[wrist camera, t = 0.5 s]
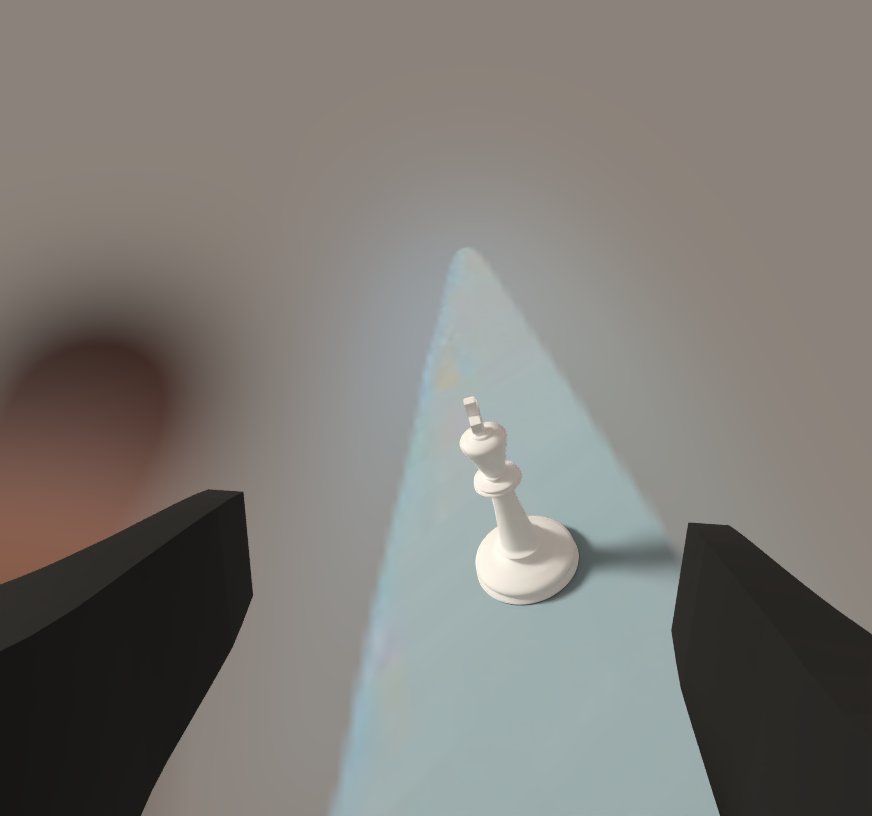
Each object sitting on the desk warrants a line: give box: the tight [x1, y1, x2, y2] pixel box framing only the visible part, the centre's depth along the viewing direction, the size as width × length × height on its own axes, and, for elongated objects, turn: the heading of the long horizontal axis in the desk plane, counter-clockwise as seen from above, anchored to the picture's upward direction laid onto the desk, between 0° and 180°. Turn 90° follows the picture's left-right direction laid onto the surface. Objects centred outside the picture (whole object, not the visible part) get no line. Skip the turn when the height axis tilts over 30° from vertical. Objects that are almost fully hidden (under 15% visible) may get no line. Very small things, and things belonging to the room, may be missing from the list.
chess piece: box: [460, 396, 579, 605], centre depth 32 cm, size 5×5×10 cm
